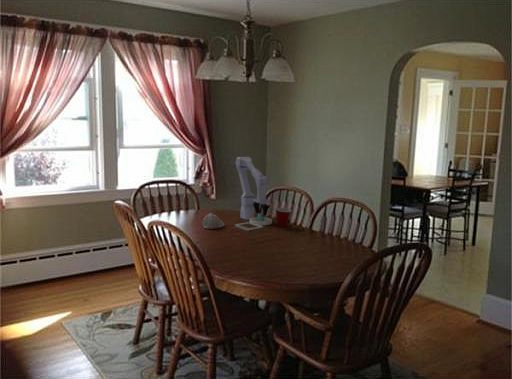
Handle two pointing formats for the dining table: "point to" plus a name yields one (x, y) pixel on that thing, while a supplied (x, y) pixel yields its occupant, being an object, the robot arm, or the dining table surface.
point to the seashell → (212, 222)
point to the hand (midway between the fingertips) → (261, 214)
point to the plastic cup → (282, 216)
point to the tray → (248, 228)
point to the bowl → (266, 222)
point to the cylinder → (260, 217)
